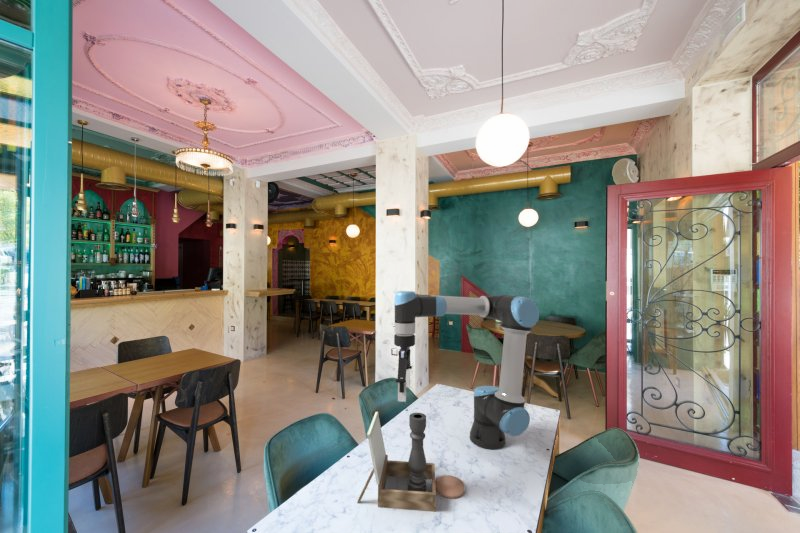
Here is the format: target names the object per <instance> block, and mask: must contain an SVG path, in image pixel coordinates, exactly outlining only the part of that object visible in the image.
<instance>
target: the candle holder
mask: <svg viewBox="0 0 800 533" xmlns="http://www.w3.org/2000/svg"><path fill="white" fill-rule="evenodd" d="M408 420H409V422H408V423H409V428H410V430H411V431H410V433H409V437H410V439H411V449H410V452H409V458H408V461H407V462H408V466H409V468H410V470H411V473H410V475H409V478H408V480H407V491H420V492H427V479H426V477H425V475H424V470H425V468H426V463H427V459H426V454H425V451H424V439H425V438H426V434H425V430H426V428H427V415H426V414H425V413H423V412H422V413H421V412H412V413H410V415H409V419H408Z"/></svg>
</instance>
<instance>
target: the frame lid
mask: <svg viewBox="0 0 800 533" xmlns="http://www.w3.org/2000/svg"><path fill="white" fill-rule="evenodd" d="M381 426H382V425H381V421H380V417H379V411H375V413H374V415H373V417H372V420H371V423H370V425H369V428H368V429H367V433H366V437H367V438H366V439H367V440H368V446H369V450H370V456H371V460H372V466H373V468H374V476H375V482H376V485H378V484H379V483H380V479H381V474H382V470H383V466H384V461H385V457H386V455H387V454H386V447H385V442H384V437H383V433H382V427H381Z"/></svg>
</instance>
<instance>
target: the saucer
mask: <svg viewBox="0 0 800 533" xmlns="http://www.w3.org/2000/svg"><path fill="white" fill-rule="evenodd" d="M435 485H436V493H437V494H438V495H439V496H440V497H442V498H445V499H450V500H451V499H452V500H455V499H458V498H459V499H460V498H461V497H462V496H463V495H464V493H465V483H464V481H462V480H461V479H460V478H459V477H457V476H455V475H450V474H443V475H440V476H438V477H437V478H435Z"/></svg>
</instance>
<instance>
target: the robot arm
mask: <svg viewBox="0 0 800 533" xmlns="http://www.w3.org/2000/svg"><path fill="white" fill-rule="evenodd" d="M393 305H394V324H393V325H392V327H393V328H394V336H393V337H394V338H393V341H394V343H393V344H394V345H395V346H396V347H400V348H399V351H398V353H397V354H398V361H397V362H398V365H397V366H398V368H397V379H395V383H397V402H404V403H406V401H407V388H410V387H411V370H412V368H413V365H411V349H410V347H414V346H415V345H416V335H415V333H416V318H432V317H433V318H434V317H435V318H437V317H444V316H445V315H446V314H447V315H469V316H470V315H471V316H479V317H480V318H486V319H491V320H495V321H500V323H501V324H500V327H501V329H502V330H503V332H504V335H503V344H502V354H501V363H500V372H499V374H500V377H499V384H498V386H494V385H480V386H476V387H475V388H474V390H473V423H472V425H471V427H470V428H471V429H470V432H469V439H470V442H472V444H474V445H475V446H477V447H479V448H482V449H487V450H499V449H502V448H503V447H505V446H506V436H505V434H507V436H511V437H517V436H521V435H522V434H523V433H524V432H525V431H527V429H528V427H529V425H530V422H531V421H530V420H531V417H530V413H529V412H528V410H527V409H526V408H525V402H526V400H525V398H524V397H523V396H522V390H523V382H524V381H523V380H524V379H523V378H524V368H525V366H524V365H525V358H526V348H527V346H526V345H527V337H528V336H527V335H528V334H530V333H531V332H532V327H535V326H536V323H537V324H538V322H539V318H540V310H539V308H538V305H537V304H536V303H535V301H534V300H532V298H528V297H527V296H526V297H525V296H521V295H519V296H517V295H508V294H500V295H499V294H498V295H481V296H479V297H471V296H469V297H468V296H452V295H437V294H436V295H435V294H434V295H433V294H419V293H416V292H415V291H413V290H411V291H410V290H407V291H406V290H399V291H398V290H397V291H396V292H395V295H394V304H393Z"/></svg>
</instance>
